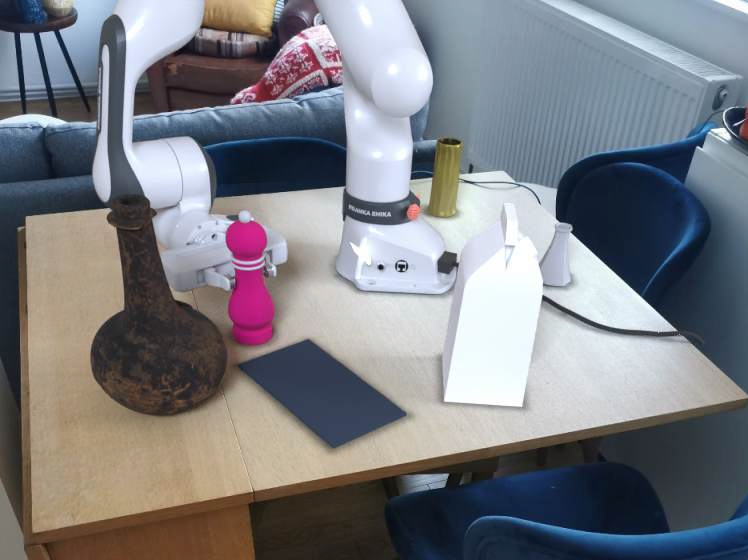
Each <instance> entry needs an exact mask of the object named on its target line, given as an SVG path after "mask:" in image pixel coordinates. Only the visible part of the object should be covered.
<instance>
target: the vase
mask: <svg viewBox="0 0 748 560" xmlns="http://www.w3.org/2000/svg"><path fill="white" fill-rule="evenodd" d="M463 145H464V144H463V141H462V139H460V138H457V137H454V136H453V137H452V136H440V137H438V138H437V139H436V143H435V152H434V153H435V154H434V163H433V164H434V165H433V172H432V179H431V188H430V195H429V200H428V201H429V203H428V206H427V212H428V213H429V214H430V215H432V216H434V217H438V218H451V217H454V216H455V215H456V214H457V199H458V191H459V184H460V183H459V182H460V173H461V171H460V170H461V162H462V161H461V160H462V153H463Z"/></svg>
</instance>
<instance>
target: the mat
mask: <svg viewBox="0 0 748 560" xmlns="http://www.w3.org/2000/svg"><path fill="white" fill-rule="evenodd" d="M237 367H238V368H239V369H240V370H241V371H243V373H244V374H246V375H247V376H248V377H249V378H250V379H252V380H253V381H254V382H255V383H256V384H258V385H259V386H260V387H261V388H262V389H263V390H265V391H266V392H267V393H268V394H269V395H270V396H271V397H273V398H274V399H275V400H276V401H277V402H279V404H281V405H282V407H284V408H285V409H287V410H288V412H289V413H291V414H292V415H293V416H295V418H297V419H298V420H300V422H301V423H303V424H304V425H305V426H306V427H307V428H308V429H310V431H312V432H313V433H314V434H315V435H317V436H318V437H319V438H320V439H321V440H322V441H324V442H325V444H327V445H328V446H330V448H332V449H335V448H338V447H340V446H343V445H345V444H347V443H349V442H351V441H353V440H356V439H357V438H360V437H362V436H364V435H366V434H368V433H371V432H373V431H375V430H378V429H380V428H382V427H384V426H387V425H388V424H392V423H393V422H396V421H397V420H399V419H402V418H404V417H406V416H407V412H406V411H404V410H403V409H402V408H401V407H399V406H398V405H397V404H396V403H394V402H393V401H392V400H390V399H389V398H387V397H386V396H384V394H382V393H381V392H380V391H379V390H377V389H376V388H374V387H373V386H372V385H370V384H369V383H368V382H366V380H363V379H362V378H361V377H360V376H359V375H357V374H356V373H354V372H353V371H352V370H350V369H349V368H348V367H347V366H345V365H344V364H343V363H341V362H340V361H339V360H337V359H336V358H335V357H333V356H332V355H330V354H329V352H326V350H324V349H322V347H320V346H319V345H318V344H316V343H314V342H313V341H312V340H311V339H309V338H308V339H305V340H302V341H299V342H295V343H293V344H290V345H287V346H284V347H281V348H279V349H276V350H273V351H271V352H268V353H266V354H262V355H260V356H258V357H254V358H252V359H251V358H250V359H249V360H246V361H243V362H240V363H238V364H237Z"/></svg>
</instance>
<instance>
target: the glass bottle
mask: <svg viewBox="0 0 748 560" xmlns="http://www.w3.org/2000/svg"><path fill="white" fill-rule="evenodd" d="M111 207H112V209H113V210H110V211H109V213H108V214H107V215H106V221H107V223H108V224H109V225H110V226H112V227H113V228H115V230H116V236H117V244H118V249H119V258H120V259H119V260H120V264H121V275H122V284H123V285H122V287H123V309H122V310H120V311H119V312H117V313H115V314H113V315H111V316H110V317H109V318H108V319H107V320H106V321H104V322H103V324H102V325H100V327H99V329H98V330H97V332H96V333H95V334H94V337H93V339H92V342H91V345H90V354H89V361H90V367H91V373H92V375H93V378H94V380H95V382H96V383H97V384H98V385H99V387H100V388H101V389H102V390H103V391H104V393H105V394H106V395H108V396H109V398H111V400H113V401H115V402H116V403H117V404H119V405H120V406H122V407H125V408H126V409H128V410H130V411H132V412H136V413H138V414H142V415H149V416H161V417H162V416H172V415H177V414H181V413H184V412H187V411H191V410H192V409H195V408H197V407H198V406H200V405H201V404H203V403H205V402H206V401H208V399H210V397H212V395H214V393H215V392H216V391H217V390H218V388H219V387H220V385H221V383H222V381H223V379H224V376H225V375H226V371H227V367H228V348H227V345H226V341H225V339H224V336H223V334H222V332H221V331H220V330H219V328H218V327H217V326H216V324H215V323H214V322H213V321H212V320H211V319H210V318H209V317H208V316H207V315H205V314H203V313H202V312H200V311H199V310H197V309H194V308H193V306H192V305H191V304H189V303H188V302H184V301H181V300H177V299H175V297H174V295H173V292H172V288H171V287H170V286H169V284H168V281H167V278H166V275H165V271H164V268H163V264H162V260H161V257H160V254H161V253H160V250H159V249H160V248H159V246H158V242H157V240H156V235H155V231H154V226H153V221H152V218H153V217H154V216H156V215H157V212H156V211H155V210H154V209H153V208H150V201H149V199H148V198H147V197H145V196H143V195H140V194H123V195H119V196H116V197H115V198H113V199H112V201H111Z"/></svg>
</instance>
